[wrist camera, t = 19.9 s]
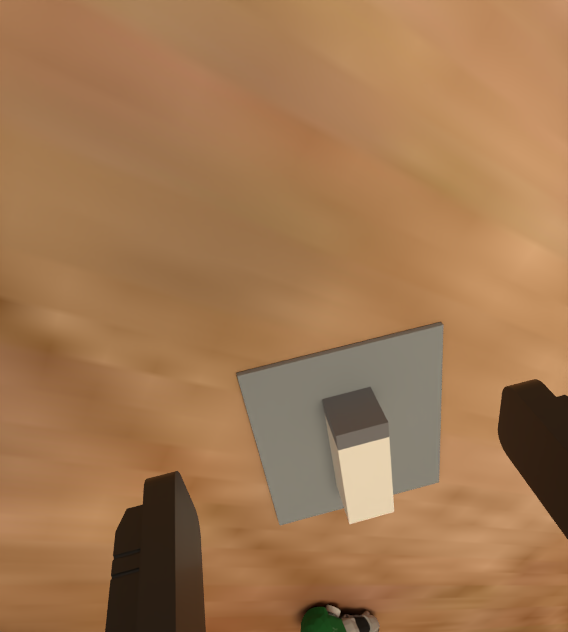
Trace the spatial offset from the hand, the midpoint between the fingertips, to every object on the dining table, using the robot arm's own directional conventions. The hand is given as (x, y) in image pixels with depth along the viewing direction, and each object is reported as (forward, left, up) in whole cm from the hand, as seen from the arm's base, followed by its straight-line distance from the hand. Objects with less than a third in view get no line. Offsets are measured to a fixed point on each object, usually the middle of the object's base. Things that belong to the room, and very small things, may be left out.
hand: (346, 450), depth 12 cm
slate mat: (+6, -32, -28) cm, 43 cm away
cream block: (+6, -40, -25) cm, 47 cm away
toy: (0, -70, -28) cm, 76 cm away
